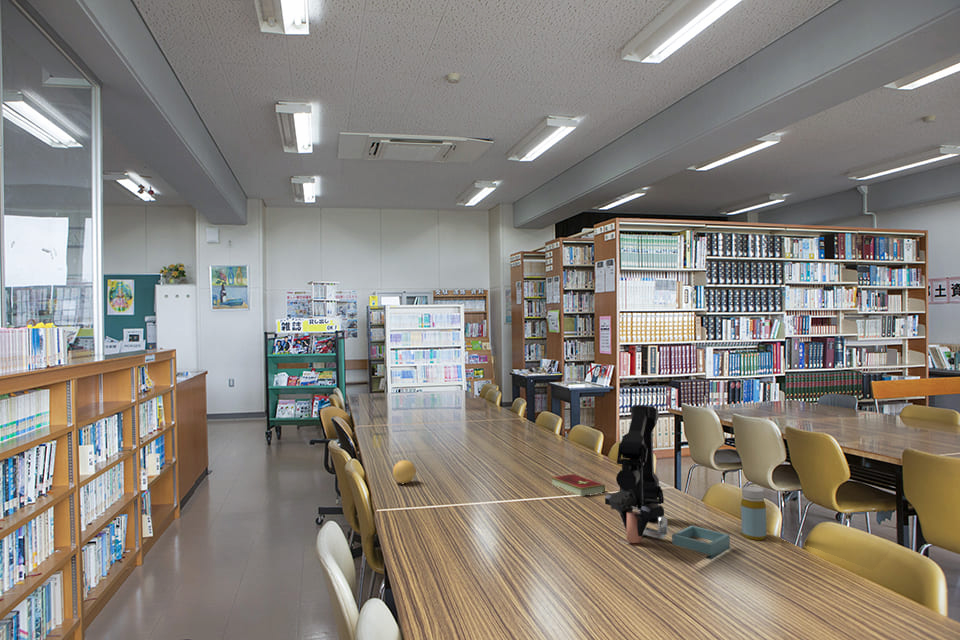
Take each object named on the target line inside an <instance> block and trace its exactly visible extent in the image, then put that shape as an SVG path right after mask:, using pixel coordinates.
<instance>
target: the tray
mask: <svg viewBox="0 0 960 640" xmlns="http://www.w3.org/2000/svg"><path fill="white" fill-rule="evenodd" d="M692 537H696V538H700V539H703V540H707V541H708V540H709V541H711V542H705V541H702V540H699V539H695V538H692ZM671 540H672V541H671V544H672V545H674V546H677V547H681V548H685V549H690V550H692V551H695V552H699V553H702V554H706V555H707V556H706V559H708V558H709V560H712V558H713V559H714V558H716V557H718V556H720V555H721V554H723V553H724V552H727V551H728V550H730V549H731V542H730V540H731V538H730V534H727V533H723V532H720V531H716V530H713V529H712V530H711V529H707V528H704V527H700V526H695V525H689V526H688V527H685V528H682V529H681V530H679V531H677V532H675V533H673V534H671Z"/></svg>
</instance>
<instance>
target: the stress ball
mask: <svg viewBox="0 0 960 640" xmlns="http://www.w3.org/2000/svg"><path fill="white" fill-rule="evenodd" d="M416 472H417V469H416V467H415V465H414V463H413V462H412V461H410V460H405V459H403V460H399V461H398V462H397V463H395V465H394V466H393V468H392V476H393V478H394V480H395V481H396V482H398V483H400V484H401V483H407V484H408V483H410V482H411V481H412V480H413V479H414V477H415V475H416Z"/></svg>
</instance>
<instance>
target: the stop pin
mask: <svg viewBox="0 0 960 640" xmlns="http://www.w3.org/2000/svg"><path fill="white" fill-rule="evenodd" d="M635 514H639V511H629V512H627V531H626V542H628V543H633V544H634V543H635V544H638V543H639V544H640V543H641V542H642V541H643V539H642V537H643V536H638V526H637V518H636V517H635V516H634V515H635Z"/></svg>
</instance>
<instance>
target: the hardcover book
mask: <svg viewBox="0 0 960 640" xmlns="http://www.w3.org/2000/svg"><path fill="white" fill-rule="evenodd" d="M550 479H551V485H552V484H553V485H555V486H558V487H561V488H563V489H565V490H567V491H566V492H568V491H570V492H573V493H575V494H577V495H576V496H578V495H580V496H584V497H586V496H585V495H590V494H595V495H597V494H596V493H601V494H603V493H602V492H606V486H605V484H603V483H600V482H597V481H595V480H591V479H588V478H585V477H583V476H580V475H577V474H574V473H570V474H564V475H563V474H562V475H558V476H557V475H556V476H550ZM553 485H552V486H553ZM555 486H554V487H555ZM558 487H557V488H558ZM563 489H562V490H563ZM565 490H564V491H565ZM570 492H569V493H570ZM573 493H572V494H573ZM575 494H574V495H575ZM580 496H579V497H580ZM590 496H591V495H590Z"/></svg>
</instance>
